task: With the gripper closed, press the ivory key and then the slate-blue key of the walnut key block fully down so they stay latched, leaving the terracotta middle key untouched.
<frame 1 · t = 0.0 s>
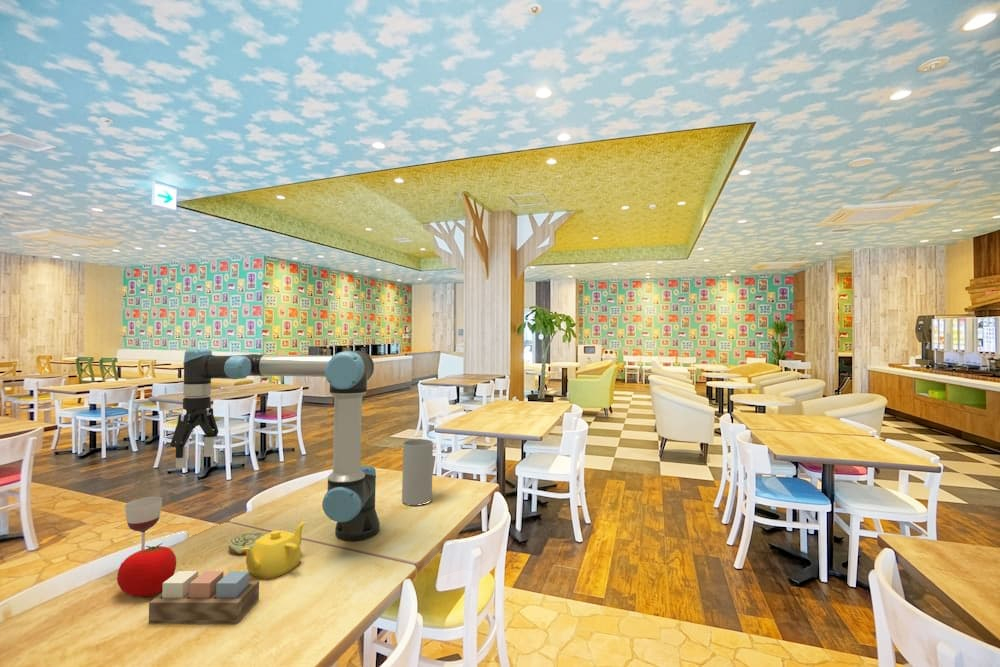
hand: (195, 462, 146), 28 cm above the table, fingers open, 13 cm apart
ivory key: (180, 586, 113), point 6 cm above the table, slide at 0.0 cm
cylinder vase: (417, 501, 192), on the table
decorated donut: (247, 549, 147), on the table
key block: (206, 611, 113), on the table
teapot: (277, 569, 134), on the table
tomato: (148, 591, 121), on the table
slate key: (233, 587, 113), point 6 cm above the table, slide at 0.0 cm
terracotta key: (206, 587, 113), point 6 cm above the table, slide at 0.0 cm
wineglass: (142, 570, 132), on the table
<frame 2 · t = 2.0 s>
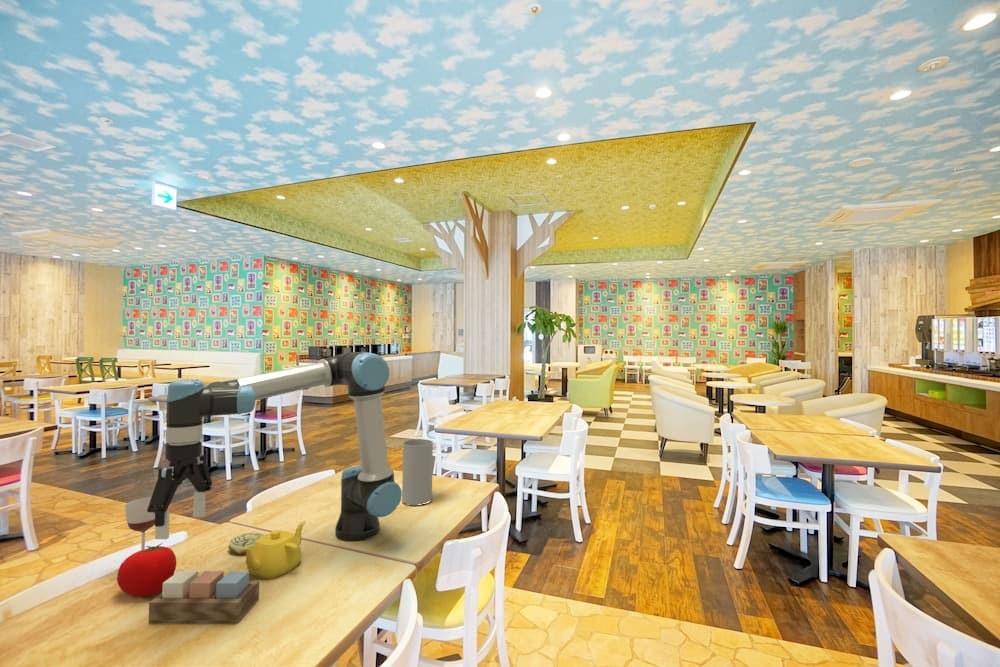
hand: (181, 527, 113), 21 cm above the table, fingers open, 13 cm apart
nothing on the table moved.
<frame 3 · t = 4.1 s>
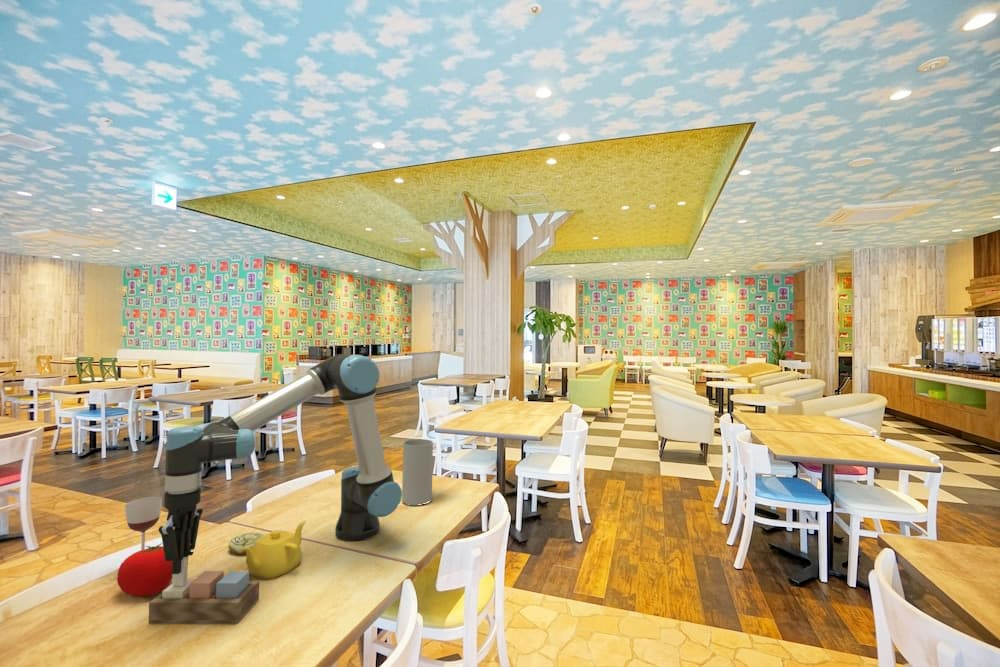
hand: (179, 584, 113), 7 cm above the table, fingers closed
ivory key: (180, 594, 113), point 4 cm above the table, slide at 2.0 cm, touching gripper
everything else where it was.
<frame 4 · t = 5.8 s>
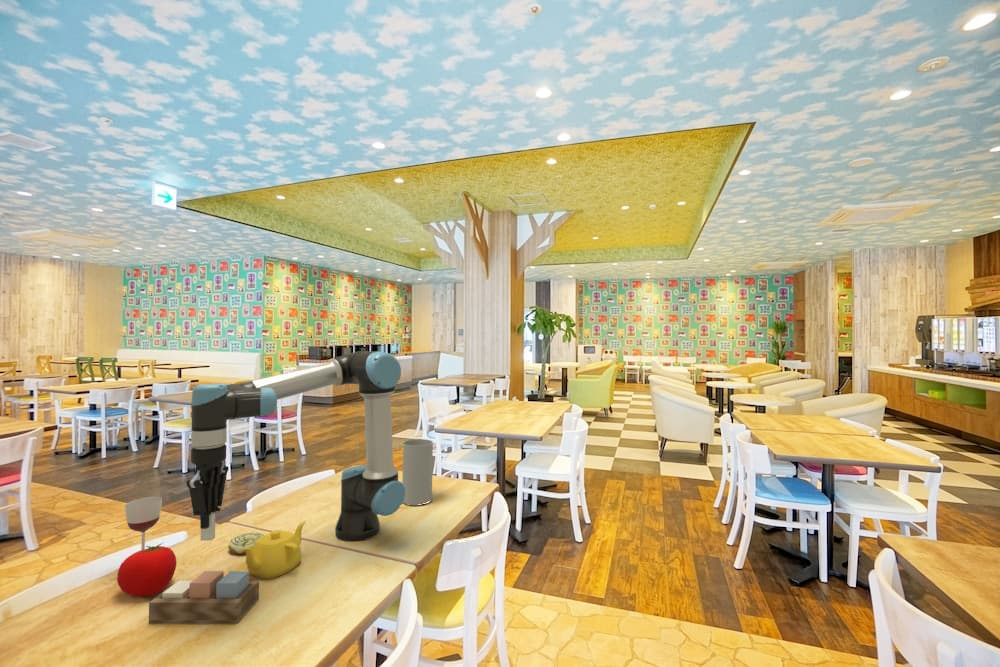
hand: (207, 539, 113), 18 cm above the table, fingers closed
ivory key: (180, 596, 113), point 4 cm above the table, slide at 2.5 cm
everything else where it was.
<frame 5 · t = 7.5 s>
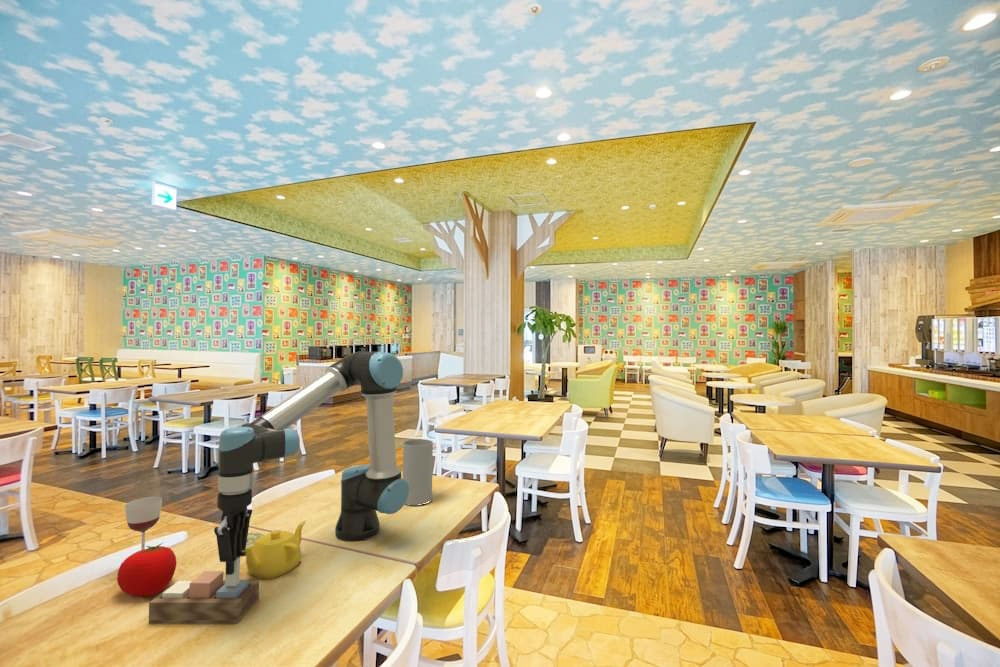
hand: (232, 584, 113), 7 cm above the table, fingers closed
slate key: (232, 595, 113), point 4 cm above the table, slide at 2.1 cm
everything else where it was.
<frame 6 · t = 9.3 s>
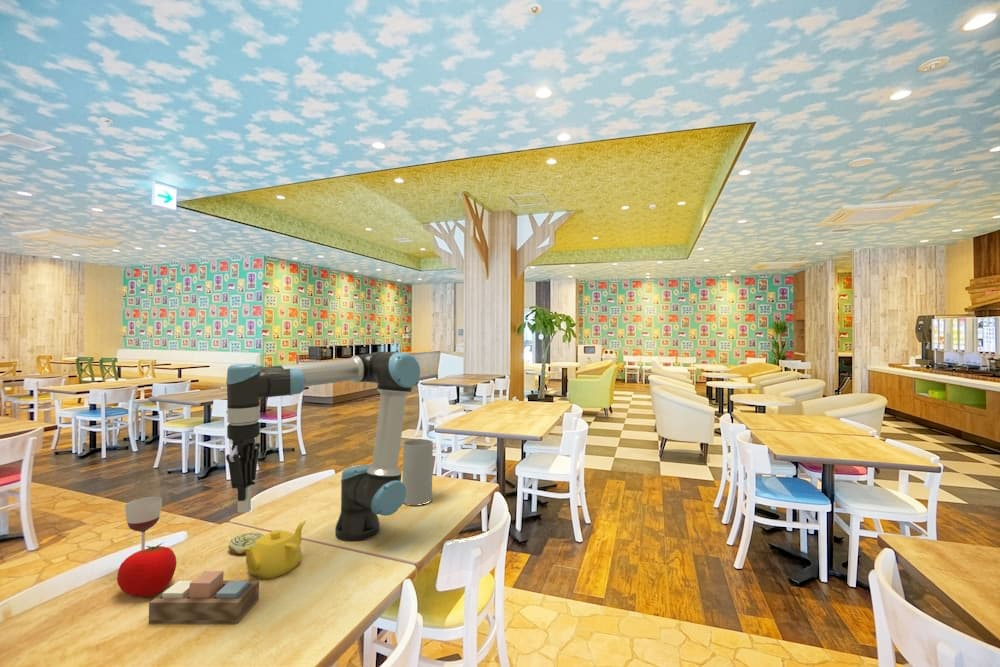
hand: (244, 511, 119), 23 cm above the table, fingers closed
slate key: (232, 597, 113), point 4 cm above the table, slide at 2.5 cm
everything else where it was.
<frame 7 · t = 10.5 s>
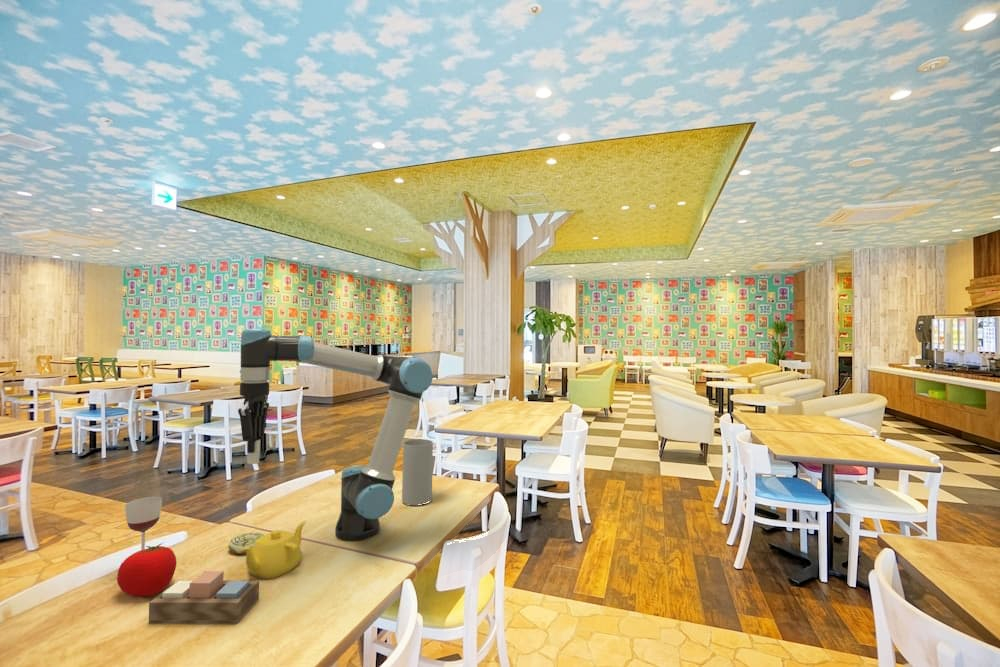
hand: (253, 463, 130), 32 cm above the table, fingers closed
nothing on the table moved.
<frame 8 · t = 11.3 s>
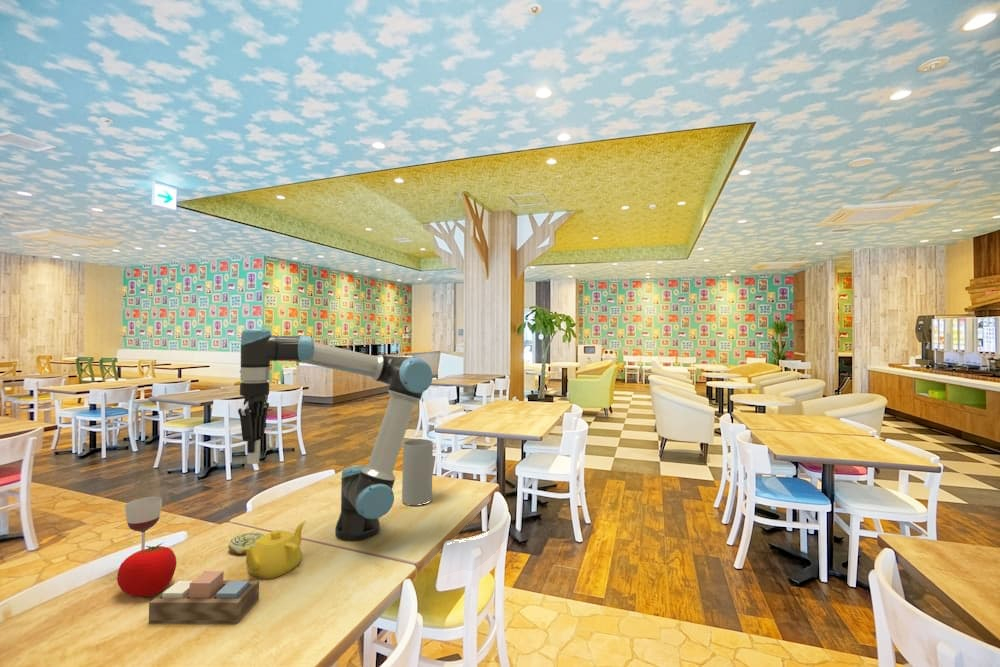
hand: (253, 463, 130), 32 cm above the table, fingers closed
nothing on the table moved.
at the end: ivory key slide at 2.5 cm; slate key slide at 2.5 cm; terracotta key slide at 0.0 cm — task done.
